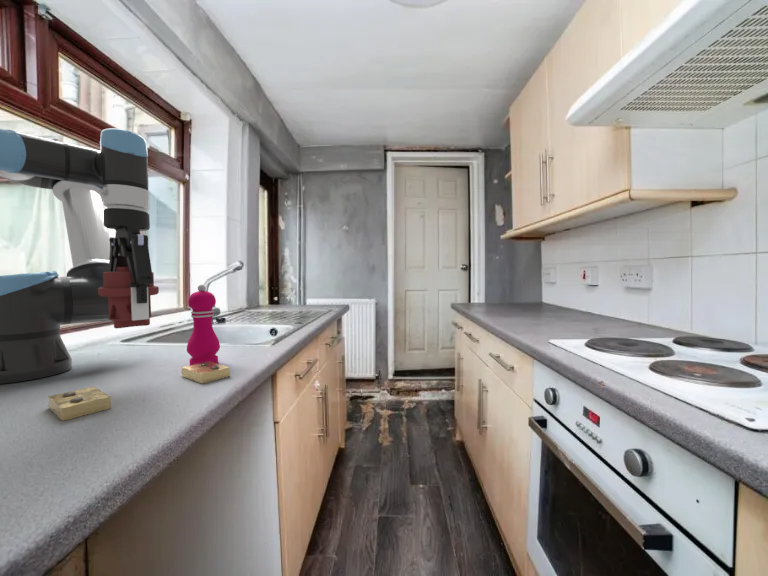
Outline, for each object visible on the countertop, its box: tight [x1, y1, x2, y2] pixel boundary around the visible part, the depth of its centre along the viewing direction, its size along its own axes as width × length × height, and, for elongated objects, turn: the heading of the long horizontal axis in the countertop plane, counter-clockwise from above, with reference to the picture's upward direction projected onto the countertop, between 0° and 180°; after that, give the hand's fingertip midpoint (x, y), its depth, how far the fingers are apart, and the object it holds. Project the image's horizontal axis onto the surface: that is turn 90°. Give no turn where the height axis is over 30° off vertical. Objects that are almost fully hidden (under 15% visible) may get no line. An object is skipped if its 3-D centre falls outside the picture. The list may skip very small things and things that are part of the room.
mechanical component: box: [98, 267, 160, 329], centre depth 69 cm, size 12×10×10 cm
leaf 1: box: [47, 386, 112, 422], centre depth 56 cm, size 9×6×2 cm, turn 55°
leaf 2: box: [181, 362, 231, 385], centre depth 73 cm, size 9×6×2 cm, turn 55°
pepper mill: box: [186, 284, 221, 366], centre depth 82 cm, size 7×7×20 cm
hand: (130, 317), depth 70 cm, fingers closed on mechanical component, 10 cm apart
